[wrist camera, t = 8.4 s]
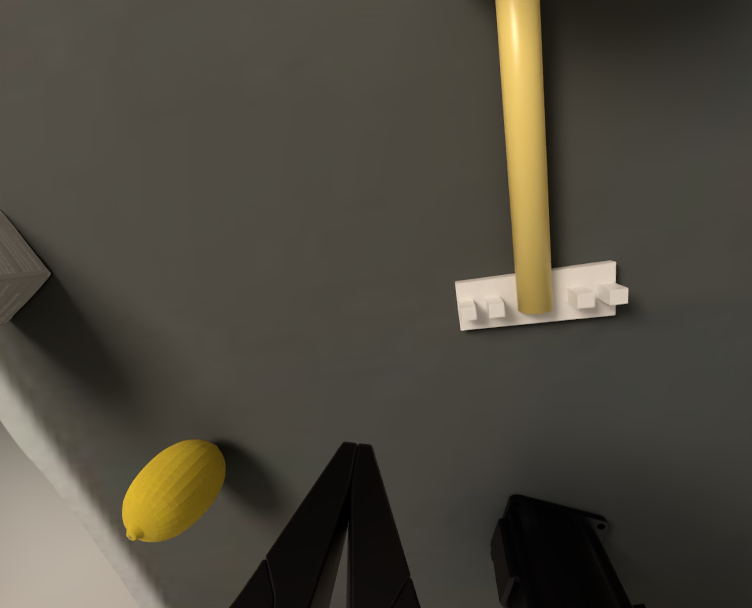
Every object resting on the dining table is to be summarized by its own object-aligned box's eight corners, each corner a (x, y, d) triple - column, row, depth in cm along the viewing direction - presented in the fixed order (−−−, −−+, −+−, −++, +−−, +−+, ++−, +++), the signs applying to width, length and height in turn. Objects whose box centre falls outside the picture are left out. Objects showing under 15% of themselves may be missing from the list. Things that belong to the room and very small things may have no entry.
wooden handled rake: (610, 311, 18) (629, 323, 16) (460, 327, 20) (462, 339, 18) (612, -348, 12) (645, -455, 10) (392, -233, 14) (385, -303, 12)
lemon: (188, 410, 27) (89, 489, 19) (248, 432, 26) (170, 522, 18) (185, 460, 28) (94, 550, 21) (241, 481, 28) (168, 582, 20)
